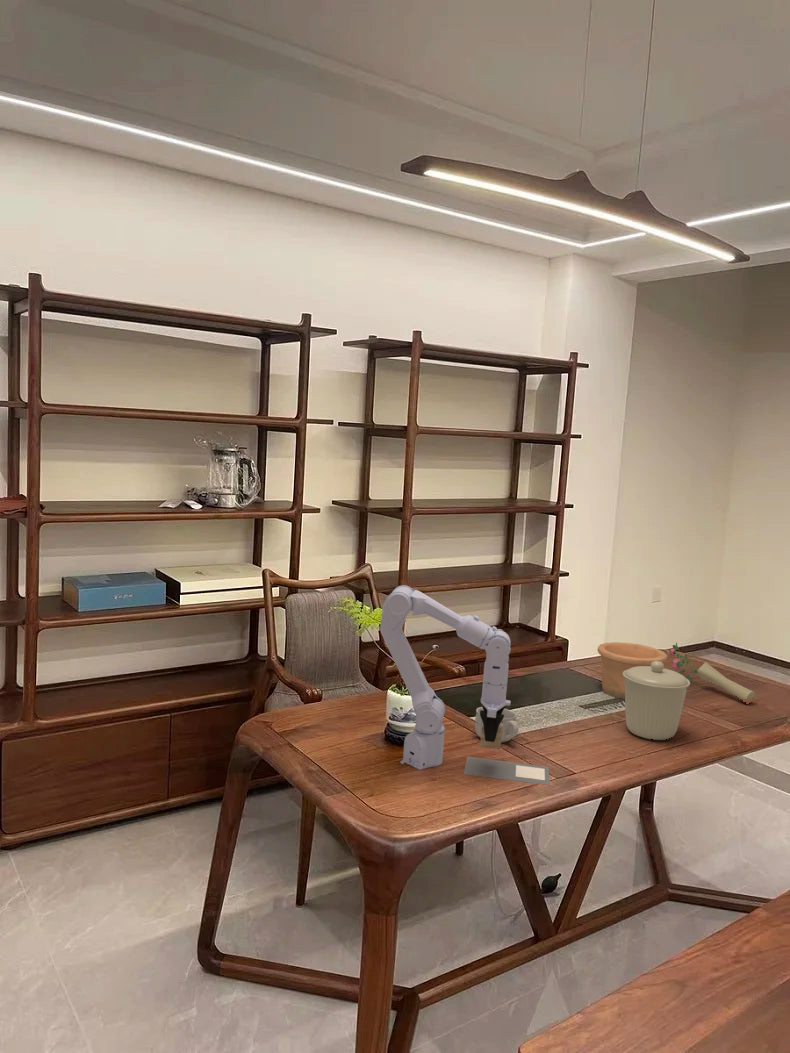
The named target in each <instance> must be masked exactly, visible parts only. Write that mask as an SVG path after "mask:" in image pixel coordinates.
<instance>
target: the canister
mask: <svg viewBox="0 0 790 1053" xmlns="http://www.w3.org/2000/svg"><path fill="white" fill-rule="evenodd" d="M623 676H624V677H625V700H624V701H625V702H624V703H625V705H624V706H625V708H624V709H625V723H626V727H627V729H628V730H629V732H631V733H632V734H633V735H635V736H637V737H640V738H642V739H646V740H651V739H653V741H666V739H667V740H670V739H672V738H673V737H674V736H675V735H676V733H677V732H678V728H679V725H680V720H681V716H682V712H683V708H684V703H685V699H686V695H687V688H689V687H690V685H691V682H690V681H689V680H688V679H687V678H685V677H686V676H684V675H683V674H682V673H679V672H678V671H675V670H673V669H672V670H671V669H668V668H665V665H664V663H662V662H660V661H654V662H652V663H651V666H637V667H632V668H630V669H628V670H625V671H624V672H623ZM671 737H672V738H671ZM669 738H670V739H669Z"/></svg>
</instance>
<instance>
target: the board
mask: <svg viewBox="0 0 790 1053" xmlns="http://www.w3.org/2000/svg"><path fill="white" fill-rule="evenodd" d="M465 760H466V761H465V765H464V770H463V775H468V776H476V777H481V778H482V777H483V778H491V779H497V780H505V781H513V782H520V783H528V784H537V785H543V786H551V785H550V784H551V782H550V767H549V766H545V765H537V764H529V763H521V762H513V761H505V760H500V759H499V760H498V759H490V758H483V757H482V758H481V757H474V756H468V755H467V756H466V759H465Z"/></svg>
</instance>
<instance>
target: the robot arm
mask: <svg viewBox="0 0 790 1053" xmlns="http://www.w3.org/2000/svg"><path fill="white" fill-rule="evenodd" d="M381 611H382V613H381V619H380V628H379V630H380V634H381V636H382V638H383V640H384V642H385V645H386V647H387V650H388V651H389V653H390V655H391V657H392V659H393V661H394V664H395V665H396V668H397V669H398V672H399V674H400V676H401V678H402V681H403V682H404V684H405V686H406V689H407V690H408V693H409V695H410V697H411V702H412V708H413V712H414V713H415V725H414V729H413V730H412V731H411V732H409V733H408V734H406V735H405V737H404V742H403V753H402V754H403V755H402V756H403V757H402V760H400V763H399V764H401V765H404V764H407V765H409V766H411V767H413V768H415V769H417V770H419V771H421V770H424V769H426V768H431V767H438V766H440V765H442V764H443V760H444V758H443V756H444V745H445V744H444V742H445V733H446V732H445V731H446V730H445V729H446V727H445V726H444V724H443V718H444V716H445V714H446V705H445V703H444V702H443V700H442V699H440V698H439V697H438V696H437V695H436V693H435V691H434V689H433V688H432V687H431V686H430V685H429V683H428V681H427V679H426V676H425V674H424V672H423V671H422V668H421V666H420V664H419V662H418V660H417V657H416V655H415V654H414V651H413V648H412V647H411V645H410V642H409V641H408V639H407V637H406V635H405V632H404V630H403V627H404V623H405V621H406V618H407V616H408V615H409V614H410V613H411V611H412V614H411V615H412V616H420V615H427V616H429V617H431V618H433V619H435V620H437V621H439V622H441V623H443V624H445V625H447V626H449V627H451V628H453V629H454V630H455V631H456V635H457V637H459V638H460V639H463V640H465V641H466V642H468V643H469V644H472V645H473V646H475V647H477V648H479V649H481V650H485V653H486V655H485V656H486V657H485V661H484V663H483V664H484V665H483V675H482V676H483V678H482V688H481V690H482V691H481V697H480V703H481V707H483V710H484V711H482V710H480V716H481V719H482V721H483V725H484V735H485V741H489V742H494V741H495V738H496V735H497V731H498V727H499V725H500V723H501V721H502V720H503V718H504V714H502V712H503V710H504V709H506V706H511V700H508V699H507V698H506V697H507V689H508V680H509V679H508V677H509V665H510V664H509V661H510V656H509V655H510V654H511V650H512V648H511V644H512V643H511V638H510V636H509V634H508V633H507V632H505V631H504V630H503V629H500V628H498V629H497V627H496V626H495V625H493V626H491V625H489V624H487V623H485V622H483V621H481V620H480V617H479V616H478V615H476V614H474V615H473V616H472V615H470V614H468V615H467V614H466V615H463V616H462V615H460V614H458V613H457V612H455V611H453V610H452V609H450V608H448V607H446V606H445V605H443V604H442V603H439V602H438V601H437V600H435V599H434V598H432V597H430V596H428V595H426V594H425V593H423V592H421V591H420V590H417V589H413V587H410V586H408V585H406V584H405V585H403V584H402V585H398V586H396V587H395V588H394V589H393V590H392V592H391V593H390V594H388V596H387V597H386V599H385V601H384V603H383V605H382V607H381Z"/></svg>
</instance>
